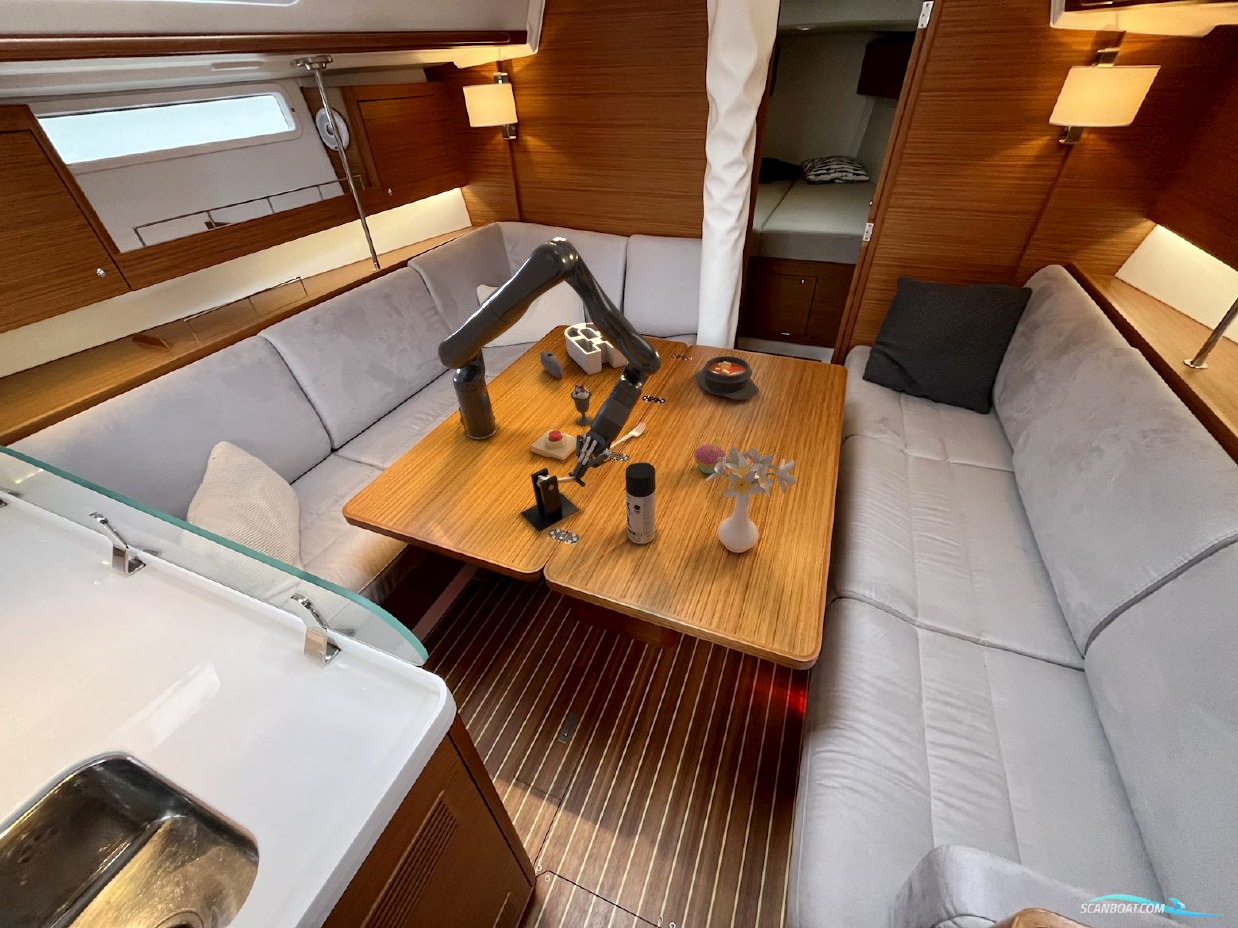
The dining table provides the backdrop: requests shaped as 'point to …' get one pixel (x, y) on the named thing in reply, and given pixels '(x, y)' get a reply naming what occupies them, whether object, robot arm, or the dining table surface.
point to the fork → (632, 433)
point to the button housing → (554, 446)
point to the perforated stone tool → (551, 364)
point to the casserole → (727, 378)
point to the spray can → (640, 502)
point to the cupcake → (708, 456)
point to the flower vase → (746, 494)
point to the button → (555, 436)
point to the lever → (562, 479)
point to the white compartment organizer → (591, 348)
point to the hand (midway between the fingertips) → (576, 476)
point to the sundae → (582, 403)
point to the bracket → (548, 503)
